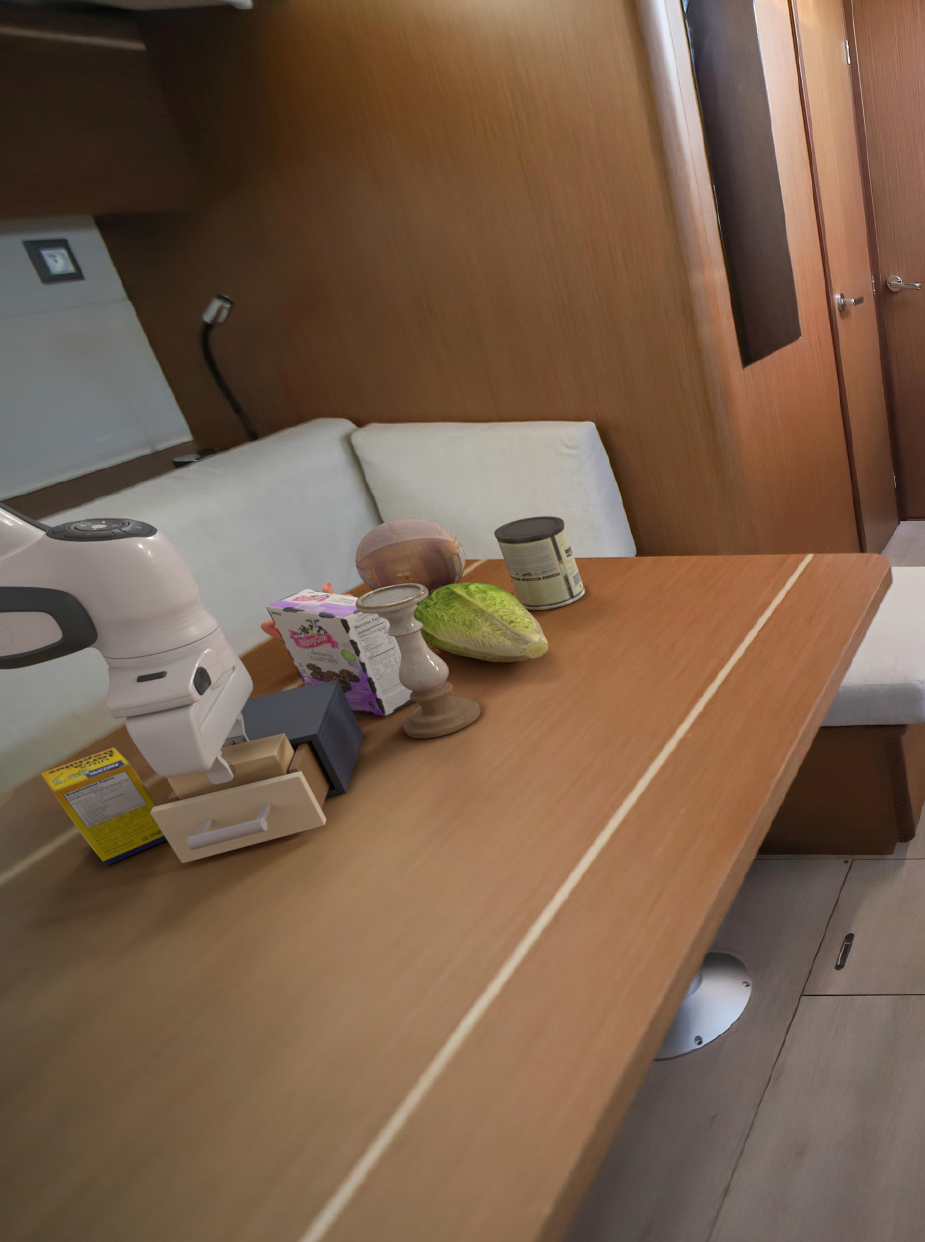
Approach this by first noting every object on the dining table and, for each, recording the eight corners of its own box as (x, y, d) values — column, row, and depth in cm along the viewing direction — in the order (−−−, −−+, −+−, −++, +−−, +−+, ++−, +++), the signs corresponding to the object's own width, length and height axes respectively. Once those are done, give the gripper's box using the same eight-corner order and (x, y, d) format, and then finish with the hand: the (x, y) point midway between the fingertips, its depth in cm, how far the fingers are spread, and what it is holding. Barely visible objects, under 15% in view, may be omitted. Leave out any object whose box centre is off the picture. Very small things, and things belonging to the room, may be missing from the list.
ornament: (495, 579, 168) (468, 505, 162) (442, 616, 155) (411, 537, 148) (412, 581, 167) (382, 506, 161) (352, 618, 154) (317, 538, 147)
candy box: (311, 704, 130) (261, 604, 123) (352, 683, 135) (307, 587, 128) (385, 718, 127) (339, 616, 120) (424, 696, 132) (382, 598, 125)
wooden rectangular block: (286, 775, 103) (275, 754, 102) (179, 801, 99) (166, 779, 98) (295, 753, 107) (284, 732, 106) (193, 777, 103) (180, 756, 101)
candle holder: (412, 713, 128) (357, 587, 119) (485, 699, 132) (437, 575, 123) (398, 745, 121) (339, 614, 112) (476, 729, 125) (425, 601, 116)
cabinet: (346, 792, 112) (316, 733, 108) (199, 830, 106) (162, 768, 102) (364, 734, 123) (337, 679, 119) (232, 765, 117) (199, 708, 113)
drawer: (317, 849, 102) (290, 799, 99) (168, 890, 96) (134, 838, 93) (344, 765, 116) (321, 719, 113) (215, 797, 110) (187, 749, 107)
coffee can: (515, 595, 163) (490, 524, 156) (580, 581, 168) (558, 511, 162) (523, 616, 155) (497, 542, 149) (590, 600, 161) (568, 528, 155)
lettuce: (478, 666, 130) (535, 594, 135) (382, 622, 139) (438, 556, 144) (543, 697, 141) (594, 630, 145) (449, 654, 149) (500, 592, 154)
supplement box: (160, 819, 108) (114, 745, 103) (178, 836, 105) (131, 762, 100) (89, 848, 103) (37, 772, 98) (105, 867, 100) (53, 790, 95)
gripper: (165, 629, 102) (220, 728, 109) (98, 714, 87) (166, 824, 93) (239, 616, 106) (288, 713, 112) (186, 696, 90) (247, 804, 96)
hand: (232, 764), depth 102 cm, fingers closed on wooden rectangular block, 5 cm apart
